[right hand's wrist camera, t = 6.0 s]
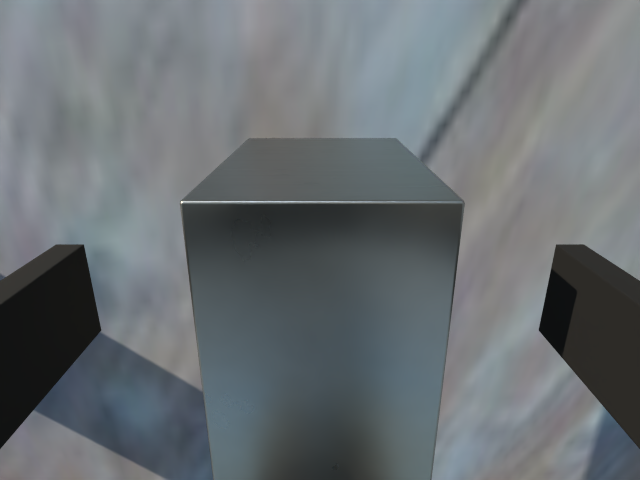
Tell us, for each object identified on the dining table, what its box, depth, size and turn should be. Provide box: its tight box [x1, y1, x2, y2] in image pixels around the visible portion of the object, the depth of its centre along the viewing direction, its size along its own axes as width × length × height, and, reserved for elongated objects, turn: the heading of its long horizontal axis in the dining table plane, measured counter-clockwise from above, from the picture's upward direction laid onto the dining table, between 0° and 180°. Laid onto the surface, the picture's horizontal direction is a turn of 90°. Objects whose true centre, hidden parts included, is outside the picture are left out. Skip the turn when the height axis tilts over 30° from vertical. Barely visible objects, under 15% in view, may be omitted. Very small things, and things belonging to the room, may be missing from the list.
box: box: [180, 138, 465, 480], centre depth 17 cm, size 22×6×9 cm, turn 0°
